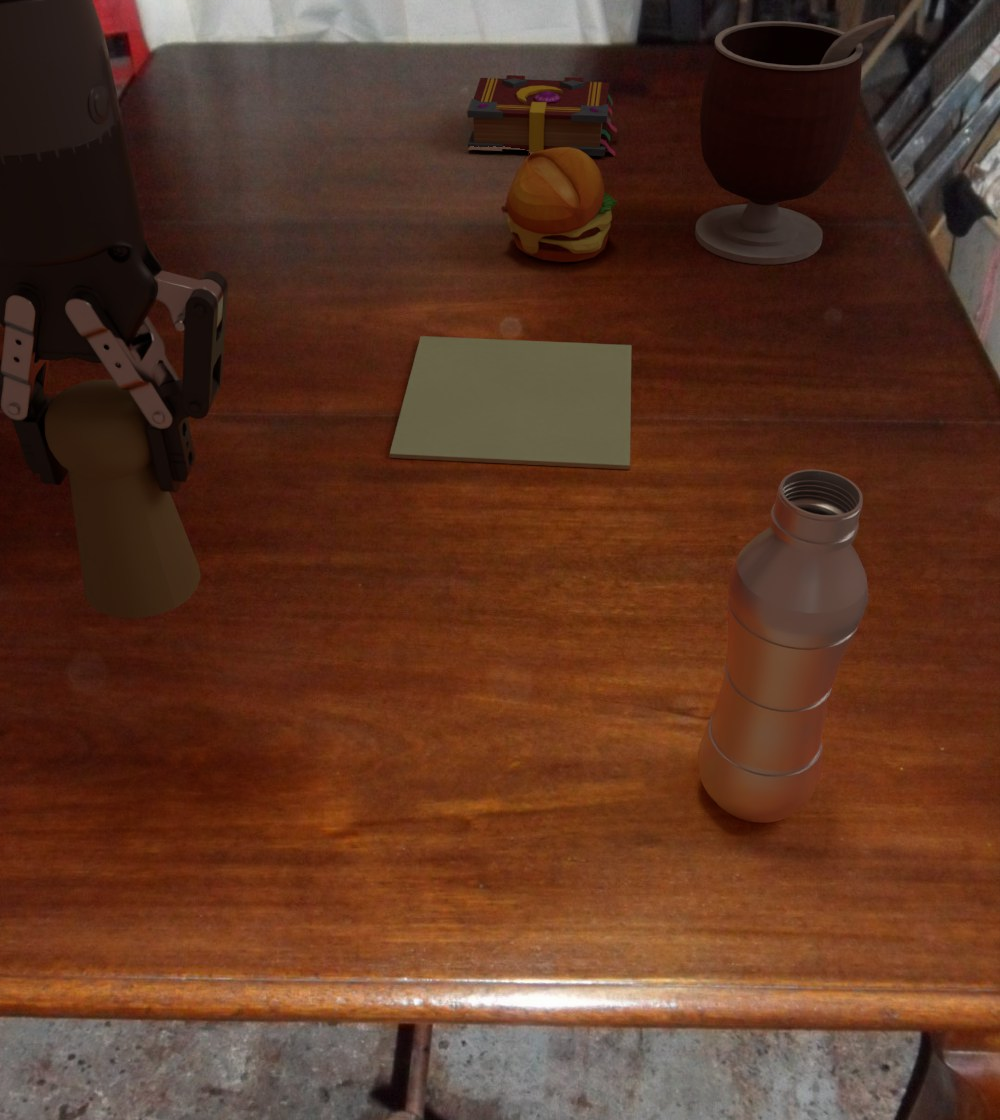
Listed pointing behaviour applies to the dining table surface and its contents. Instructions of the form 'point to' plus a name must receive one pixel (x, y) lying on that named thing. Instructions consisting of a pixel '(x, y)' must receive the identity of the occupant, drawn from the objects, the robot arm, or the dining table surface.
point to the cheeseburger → (559, 206)
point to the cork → (119, 504)
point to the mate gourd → (776, 131)
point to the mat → (517, 403)
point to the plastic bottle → (785, 649)
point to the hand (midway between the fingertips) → (115, 477)
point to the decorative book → (541, 114)
